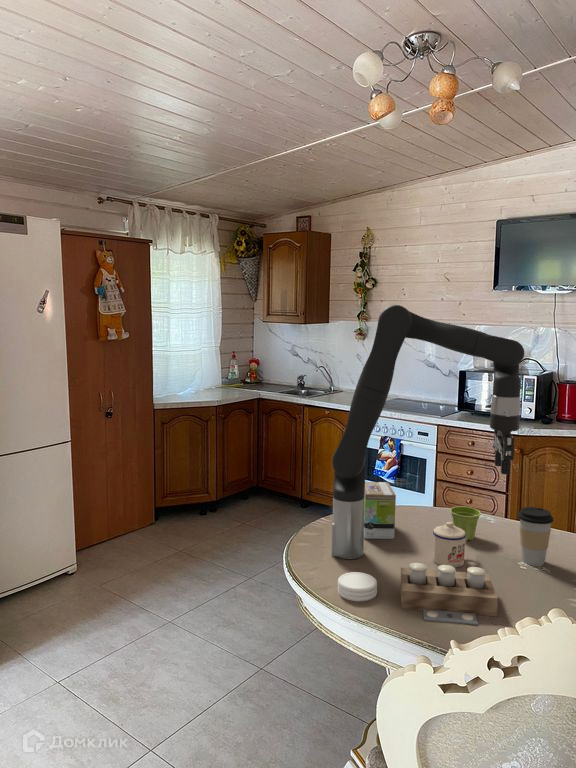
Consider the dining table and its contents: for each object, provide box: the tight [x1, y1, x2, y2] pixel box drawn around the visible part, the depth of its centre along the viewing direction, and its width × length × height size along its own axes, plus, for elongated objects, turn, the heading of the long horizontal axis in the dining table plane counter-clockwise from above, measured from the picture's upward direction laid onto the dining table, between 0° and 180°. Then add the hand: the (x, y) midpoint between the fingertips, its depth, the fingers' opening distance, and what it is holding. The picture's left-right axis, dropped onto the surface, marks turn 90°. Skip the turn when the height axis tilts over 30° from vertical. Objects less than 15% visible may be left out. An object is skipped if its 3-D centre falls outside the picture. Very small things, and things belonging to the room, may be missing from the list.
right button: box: [467, 566, 486, 589], centre depth 139 cm, size 4×4×4 cm
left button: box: [408, 562, 428, 585], centre depth 141 cm, size 4×4×4 cm
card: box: [422, 609, 479, 626], centre depth 132 cm, size 12×4×1 cm, turn 80°
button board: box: [399, 567, 499, 617], centre depth 140 cm, size 22×13×4 cm, turn 80°
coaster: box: [337, 571, 378, 602], centre depth 144 cm, size 10×10×4 cm
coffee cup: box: [517, 506, 554, 567], centre depth 162 cm, size 9×9×15 cm
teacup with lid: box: [432, 521, 468, 569], centre depth 163 cm, size 12×9×12 cm
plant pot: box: [449, 505, 482, 541], centre depth 180 cm, size 9×9×9 cm
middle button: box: [437, 565, 457, 587], centre depth 140 cm, size 4×4×4 cm
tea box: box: [364, 481, 397, 540], centre depth 186 cm, size 15×10×15 cm
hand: (501, 469), depth 156 cm, fingers open, 8 cm apart
